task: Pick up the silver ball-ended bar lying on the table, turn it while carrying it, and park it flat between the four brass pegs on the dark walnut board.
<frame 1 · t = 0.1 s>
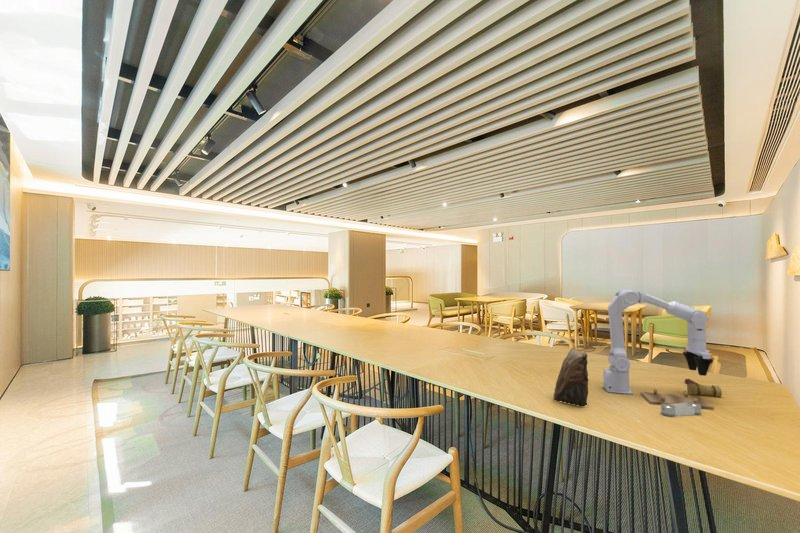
hand: (697, 372, 139), 10 cm above the table, tool pointing down, fingers open, 7 cm apart
dark brown rock: (570, 400, 138), on the table
silver ball-ended bar: (681, 413, 124), on the table
board: (674, 401, 135), on the table
gavel: (695, 389, 149), on the table
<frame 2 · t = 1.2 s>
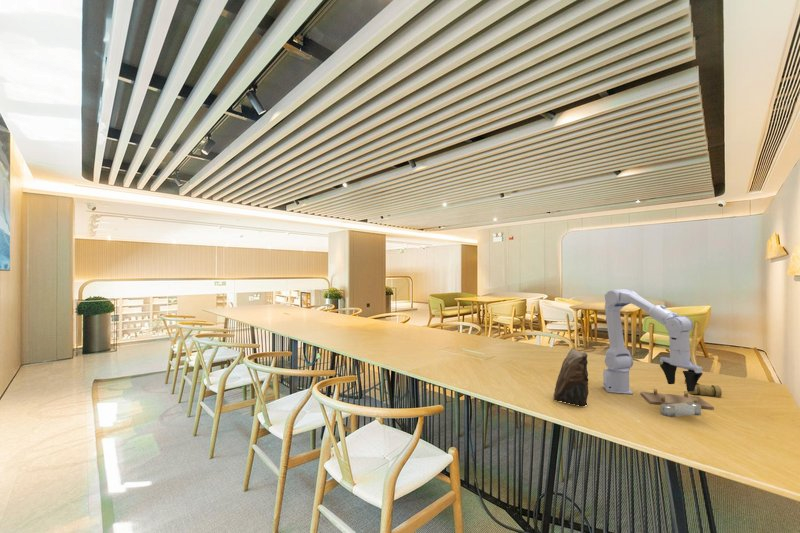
hand: (680, 387, 124), 9 cm above the table, tool pointing down, fingers open, 7 cm apart
nothing on the table moved.
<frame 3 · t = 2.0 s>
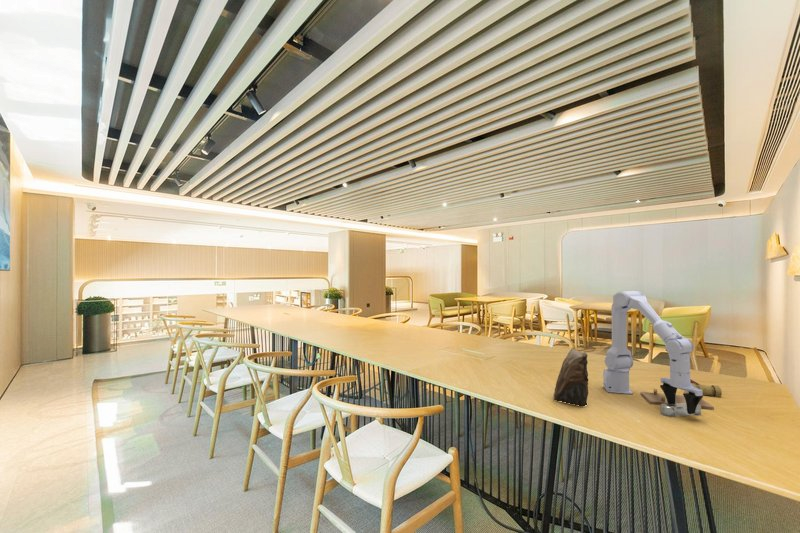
hand: (681, 409, 124), 2 cm above the table, tool pointing down, fingers open, 7 cm apart
nothing on the table moved.
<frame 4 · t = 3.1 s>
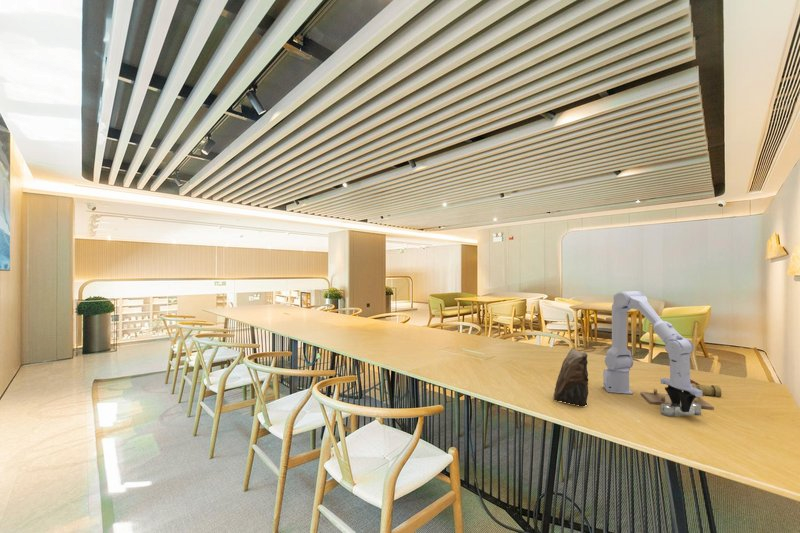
hand: (681, 409, 124), 1 cm above the table, tool pointing down, fingers closed on silver ball-ended bar, 3 cm apart
silver ball-ended bar: (681, 413, 124), on the table, touching gripper
everything else where it was.
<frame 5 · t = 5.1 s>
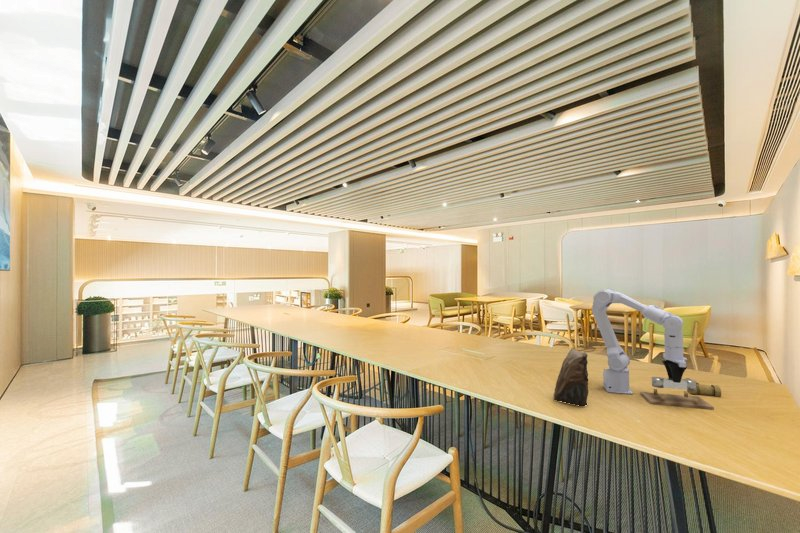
hand: (674, 380, 134), 8 cm above the table, tool pointing down, fingers closed on silver ball-ended bar, 3 cm apart
silver ball-ended bar: (673, 387, 135), point 6 cm above the table, touching gripper
everything else where it was.
when the fingers open (4 cm above the table, at t = 6.8 s): silver ball-ended bar stays where it is, resting on board.
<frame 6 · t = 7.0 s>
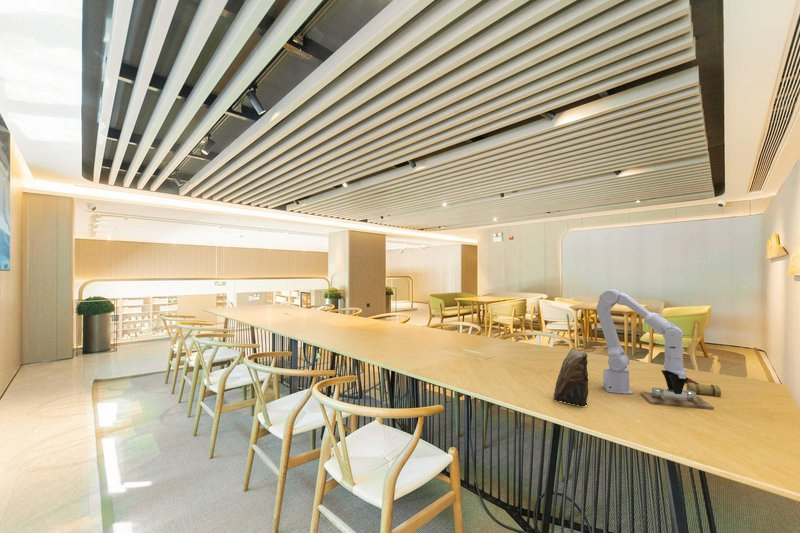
hand: (674, 391, 135), 4 cm above the table, tool pointing down, fingers open, 5 cm apart
silver ball-ended bar: (673, 398, 135), point 1 cm above the table, touching board
everything else where it was.
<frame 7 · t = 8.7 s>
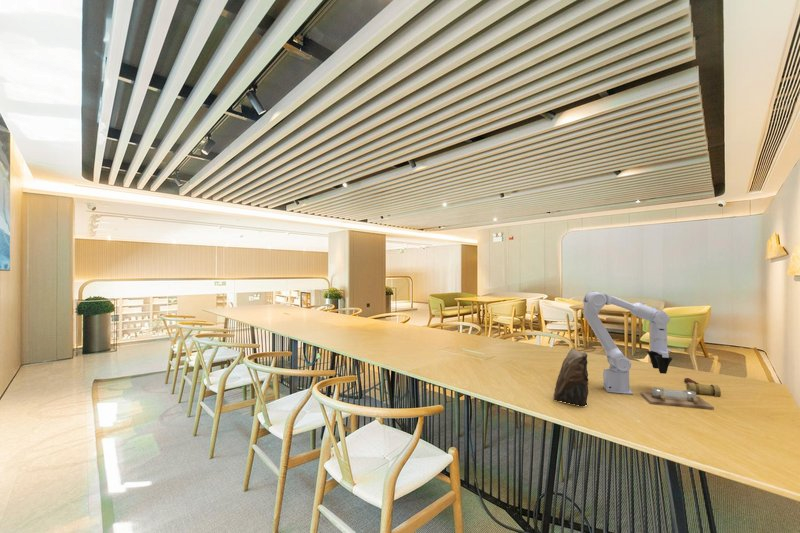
hand: (659, 370, 145), 9 cm above the table, tool pointing down, fingers open, 7 cm apart
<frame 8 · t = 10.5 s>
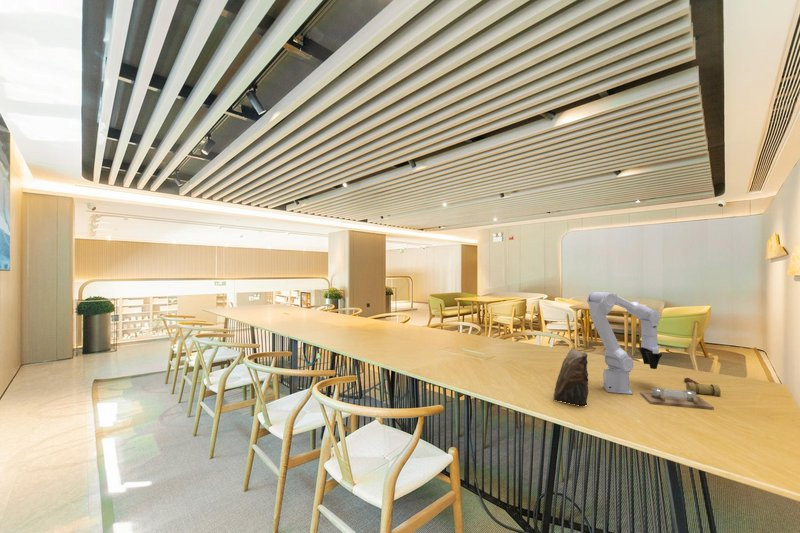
hand: (650, 366, 151), 9 cm above the table, tool pointing down, fingers open, 7 cm apart
at the end: silver ball-ended bar 0.4 cm off-centre on the board, point 1.0 cm above the board's base; silver ball-ended bar tilted 0°; the gripper is holding nothing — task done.
